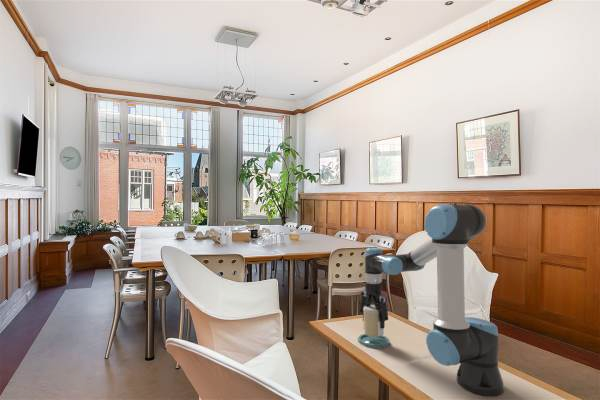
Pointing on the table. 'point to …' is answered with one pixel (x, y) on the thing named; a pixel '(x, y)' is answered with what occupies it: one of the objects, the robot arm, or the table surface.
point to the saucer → (373, 341)
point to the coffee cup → (371, 321)
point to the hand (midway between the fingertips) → (373, 331)
